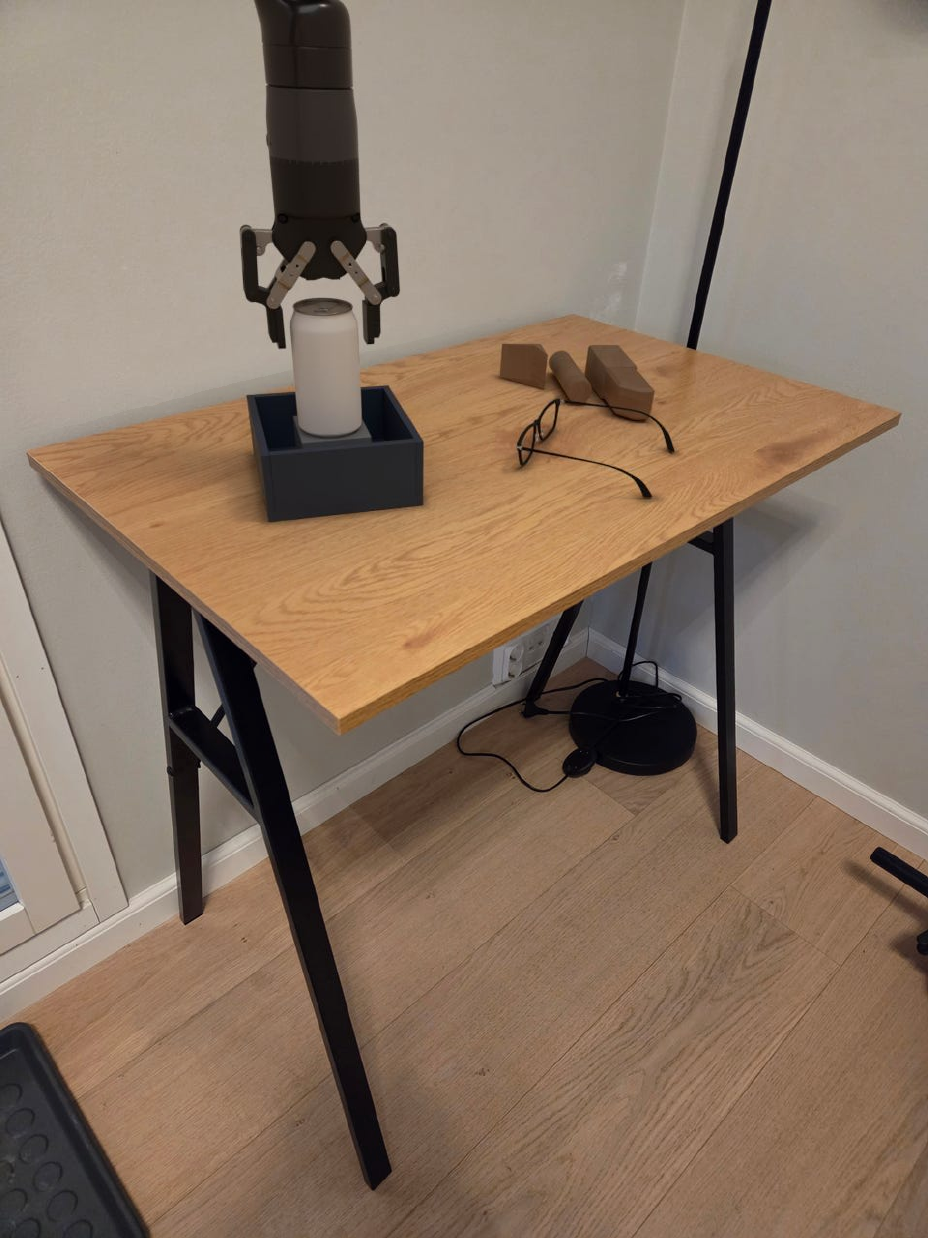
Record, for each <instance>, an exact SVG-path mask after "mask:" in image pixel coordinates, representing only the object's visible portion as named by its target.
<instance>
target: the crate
mask: <svg viewBox="0 0 928 1238" xmlns="http://www.w3.org/2000/svg"><path fill="white" fill-rule="evenodd" d="M246 402H247V403H246V404H247V413H248V421H249V426H250V435H251V443H252V451H253V457H254V462H255V466H256V470H257V475H258V479H259V484H260V489H261V495H262V498H263V503H264V507H265V511H266V517H267V521H268V523H272V522H280V521H281V522H282V521H290V520H299V519H308V518H309V519H310V518H316V517H325V516H334V515H343V514H355V513H362V512H370V511H380V510H389V509H398V508H406V507H407V508H408V507H416V506H417V507H418V506H423V505H424V461H425V460H424V456H425V455H424V453H425V452H424V451H425V449H424V448H425V442H424V440H423V438H422V436H421V434H420V433H419V432H418V430H417V428H416V427H415V425H414V424H413V422H412V420H411V419H410V417H409V416H408V414H407V412H406V411H405V409H404V408H403V406H402V405H401V403H400V402H399V400H398V398H397V396H396V395H395V393H394V391H392V389H391V387H390V385H389V384H385V385H384V384H383V385H371V386H370V385H368V386H361V415H362V419H363V421H364V423H365V425H366V427H367V429H368V431H369V433H370V435H371V437H372V443H362V444H350V445H339V446H328V447H316V448H305V449H296V445H295V434H294V424H293V416H298V415H297V405H296V394H295V391H283V392H282V391H281V392H270V393H253V394H246Z"/></svg>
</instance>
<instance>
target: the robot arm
mask: <svg viewBox="0 0 928 1238" xmlns="http://www.w3.org/2000/svg"><path fill="white" fill-rule="evenodd" d="M253 3H254V5H255V6H254V7H255V9H256V14H257V18H258V22H259V26H260V36H261V37H260V38H261V43H262V44H261V47H262V57H263V69H264V79H265V84H266V85H265V96H266V97H265V126H266V135H265V141H266V146H267V149H268V159H269V169H270V171H269V172H270V181H271V192H272V201H273V202H272V203H273V214H274V218H273V219H274V220H273V224H272V227H271V228H252V226H251V225H249V224H242V225H241V226H240V228H239V244H240V245H239V246H240V259H241V275H242V289H243V293H244V295H245V298H246V300H247V301H248V302H249V303H257V304H260V305H262V306H264V308H265V313H266V314H265V315H266V325H267V334H268V337H269V339H270V341H271V343H272V344H276V347H277V349H278V350H285V349H287V340H286V330H285V329H286V328H285V320H284V309H283V306H282V302H283V301H284V299H285V298H286V296H287V294H288V293H289V291H291V290H292V288H293V287H294V286H295V284H296V282H298V280H299V278H302V279H305V280H306V281H307V282H308V281H310V282H311V281H317V280H320V279H327V280H332V281H335V280H336V281H338V280H341V278H343V277H345V276H346V275H349V277H350V278H351V279H352V280H353V282H354V283H355V285H356V286H357V287H358V288H359V290H360V291H361V292H362V293H363V295H364V299H361V305H362V306H361V309H362V310H361V312H362V337H363V341H364V342H365V344H366V345H367V346H368V345H375V342H376V340H375V339H379V338H380V335H381V331H382V330H381V329H382V328H381V306H382V305H381V304H382V303H383V302H384V301H385V300H387V299H390V298H397V297H398V296H399V295H400V293H401V284H400V266H399V252H398V235H397V231H396V229H394V228H393V226H391V225H390V224H388V223H386V222H382V223H380V224H379V225H378V226H368V227H364V225H363V224H364V223H363V221H362V215H361V214H362V213H361V188H360V187H361V186H360V185H361V183H360V158H359V156H360V155H359V127H358V115H357V109H356V102H355V92H354V89H353V87H354V72H353V71H354V69H353V49H352V46H353V45H352V26H351V17H350V13H349V10H348V8H347V6H346V5H345V3H344V2H343V1H342V0H253ZM367 242H371V247H372V248H373V249H374V250H375V252H376V253H378V254H379V261H380V277H381V281H379V282H376V283H375V284H374V283H373V282H372V281H371V279H370V278H369V276H368V275H367V274H366V273H365V271H364V270H363V268H362V267H361V266H360V265H359V264H358V262H357V261H356V260H357V259H358V257H359V256H360V254H361V252H362V251H363V249H364V247H365V245H366V244H367ZM269 244H272V245H273V246H274V247H275V249H276V250H277V251H278V252H279V254H280V255H281V256H282V260H281V261H280V263H279V264H278V266H277V268H276V270H275V271H274V275H273V277H272V279H271V280H270V282H269V283H268V285H267V287H264V286H262V285H259V266H258V265H259V264H258V257H261V256H264V255H265V252H266V248H267V245H269Z"/></svg>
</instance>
